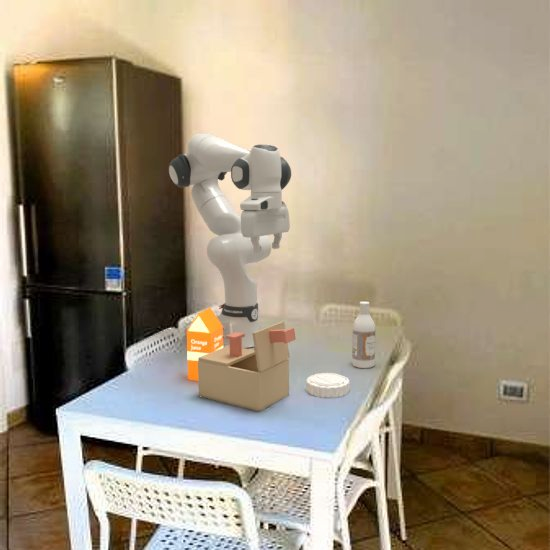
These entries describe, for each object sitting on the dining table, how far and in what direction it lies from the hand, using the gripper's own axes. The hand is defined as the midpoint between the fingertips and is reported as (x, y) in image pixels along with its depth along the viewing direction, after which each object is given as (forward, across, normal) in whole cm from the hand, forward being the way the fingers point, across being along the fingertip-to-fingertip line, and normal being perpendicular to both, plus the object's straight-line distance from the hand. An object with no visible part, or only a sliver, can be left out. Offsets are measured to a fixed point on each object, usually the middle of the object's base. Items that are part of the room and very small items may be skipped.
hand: (266, 250), depth 178 cm
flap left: (+27, +19, 0) cm, 33 cm away
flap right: (+22, +19, +14) cm, 32 cm away
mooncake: (+38, +3, +22) cm, 44 cm away
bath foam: (+37, -22, +21) cm, 48 cm away
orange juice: (+37, +12, -14) cm, 42 cm away
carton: (+37, +19, +5) cm, 42 cm away
